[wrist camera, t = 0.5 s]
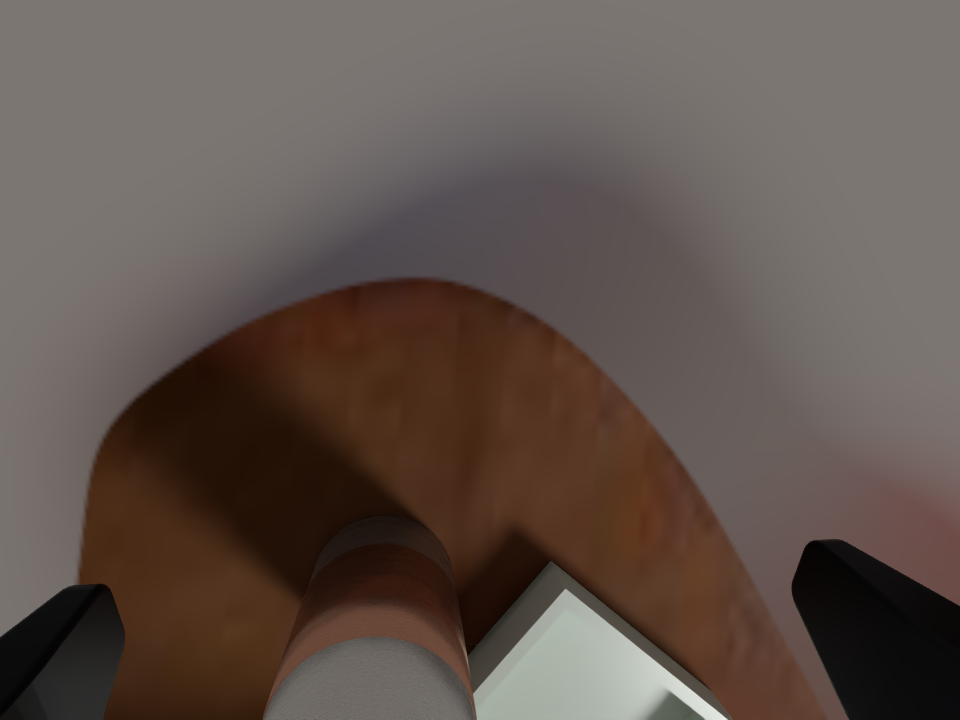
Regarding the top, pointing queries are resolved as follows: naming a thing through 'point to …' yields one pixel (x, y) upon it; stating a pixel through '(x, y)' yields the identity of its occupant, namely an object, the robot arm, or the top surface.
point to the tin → (377, 632)
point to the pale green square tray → (578, 663)
